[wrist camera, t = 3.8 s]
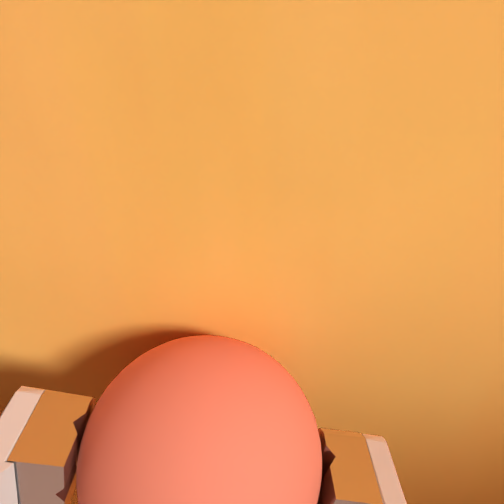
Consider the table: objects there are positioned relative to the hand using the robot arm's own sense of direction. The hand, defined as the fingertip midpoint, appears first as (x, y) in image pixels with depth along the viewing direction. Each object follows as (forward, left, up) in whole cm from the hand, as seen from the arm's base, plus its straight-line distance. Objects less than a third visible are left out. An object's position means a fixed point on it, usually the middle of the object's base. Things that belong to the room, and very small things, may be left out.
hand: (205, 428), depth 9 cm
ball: (0, 0, +1) cm, 1 cm away
